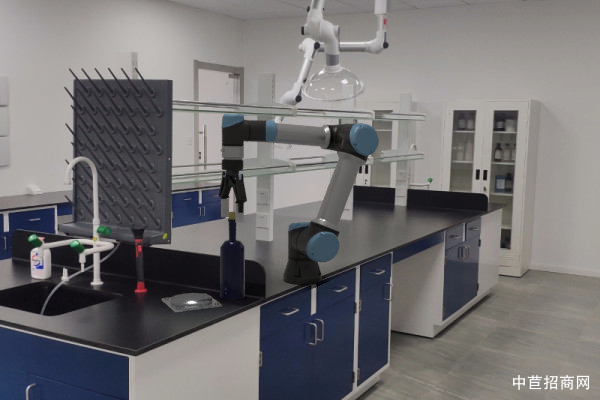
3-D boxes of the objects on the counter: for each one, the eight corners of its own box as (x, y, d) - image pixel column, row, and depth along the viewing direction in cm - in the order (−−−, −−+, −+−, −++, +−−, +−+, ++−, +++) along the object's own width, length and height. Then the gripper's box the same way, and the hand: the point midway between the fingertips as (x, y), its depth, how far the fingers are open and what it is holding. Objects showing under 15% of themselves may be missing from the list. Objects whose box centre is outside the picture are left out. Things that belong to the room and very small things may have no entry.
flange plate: (206, 295, 223) (206, 290, 223) (222, 306, 209) (222, 301, 209) (161, 300, 216) (161, 295, 215) (175, 312, 202) (175, 307, 201)
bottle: (216, 293, 225) (216, 210, 222) (241, 292, 228) (241, 210, 225) (222, 300, 216) (222, 214, 213) (248, 298, 220) (248, 213, 216)
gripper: (209, 157, 226) (209, 215, 229) (236, 160, 204) (235, 225, 207) (229, 157, 230) (229, 214, 232) (257, 160, 208) (256, 223, 210)
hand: (232, 219), depth 219 cm, fingers open, 13 cm apart
